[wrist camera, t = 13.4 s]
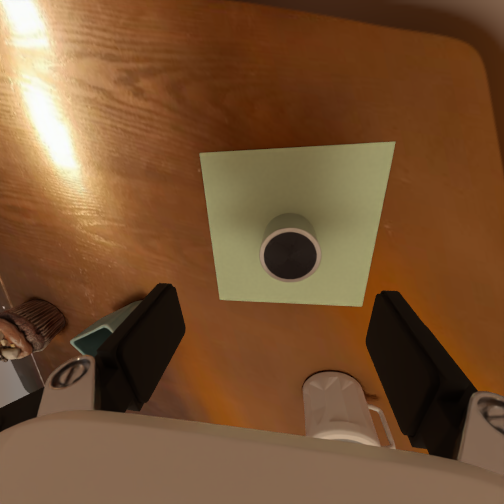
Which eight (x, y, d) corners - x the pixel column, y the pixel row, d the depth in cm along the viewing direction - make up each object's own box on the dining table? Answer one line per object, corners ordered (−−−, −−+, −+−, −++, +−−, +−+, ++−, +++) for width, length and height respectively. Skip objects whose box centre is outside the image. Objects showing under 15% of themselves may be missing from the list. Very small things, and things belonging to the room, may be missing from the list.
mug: (299, 401, 44) (303, 465, 35) (306, 365, 39) (312, 429, 30) (369, 412, 42) (391, 482, 33) (384, 376, 38) (415, 447, 29)
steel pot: (263, 213, 28) (258, 227, 23) (316, 212, 27) (324, 227, 22) (264, 259, 31) (260, 282, 26) (313, 260, 30) (319, 284, 25)
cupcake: (15, 305, 44) (-55, 345, 35) (41, 288, 41) (-28, 327, 32) (51, 337, 47) (-4, 382, 38) (78, 324, 43) (25, 370, 34)
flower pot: (111, 303, 40) (67, 342, 32) (144, 286, 37) (104, 324, 29) (142, 336, 42) (109, 380, 34) (175, 322, 39) (147, 367, 31)
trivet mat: (199, 152, 26) (199, 152, 26) (394, 141, 23) (395, 141, 23) (220, 299, 36) (219, 299, 35) (361, 305, 32) (362, 306, 32)
